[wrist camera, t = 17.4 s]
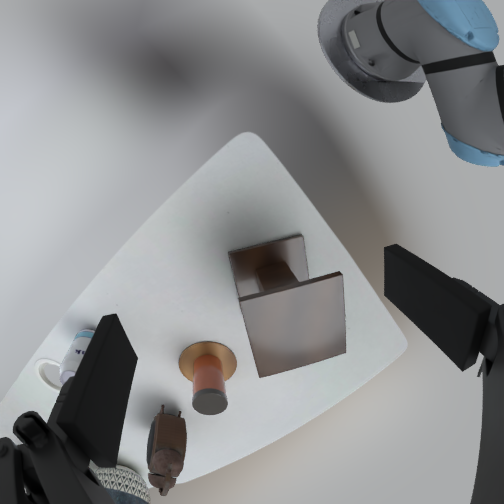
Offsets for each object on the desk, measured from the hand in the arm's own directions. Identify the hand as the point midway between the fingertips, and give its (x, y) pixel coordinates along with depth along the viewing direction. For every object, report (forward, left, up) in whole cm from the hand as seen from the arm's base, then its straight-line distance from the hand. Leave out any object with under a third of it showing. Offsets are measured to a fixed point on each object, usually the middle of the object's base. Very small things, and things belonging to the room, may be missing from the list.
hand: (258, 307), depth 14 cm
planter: (+49, +68, -33) cm, 90 cm away
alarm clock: (+24, +44, -33) cm, 60 cm away
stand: (-5, +15, -33) cm, 36 cm away
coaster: (+10, +30, -33) cm, 45 cm away
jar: (+10, +30, -32) cm, 45 cm away
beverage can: (+30, +20, -33) cm, 49 cm away
